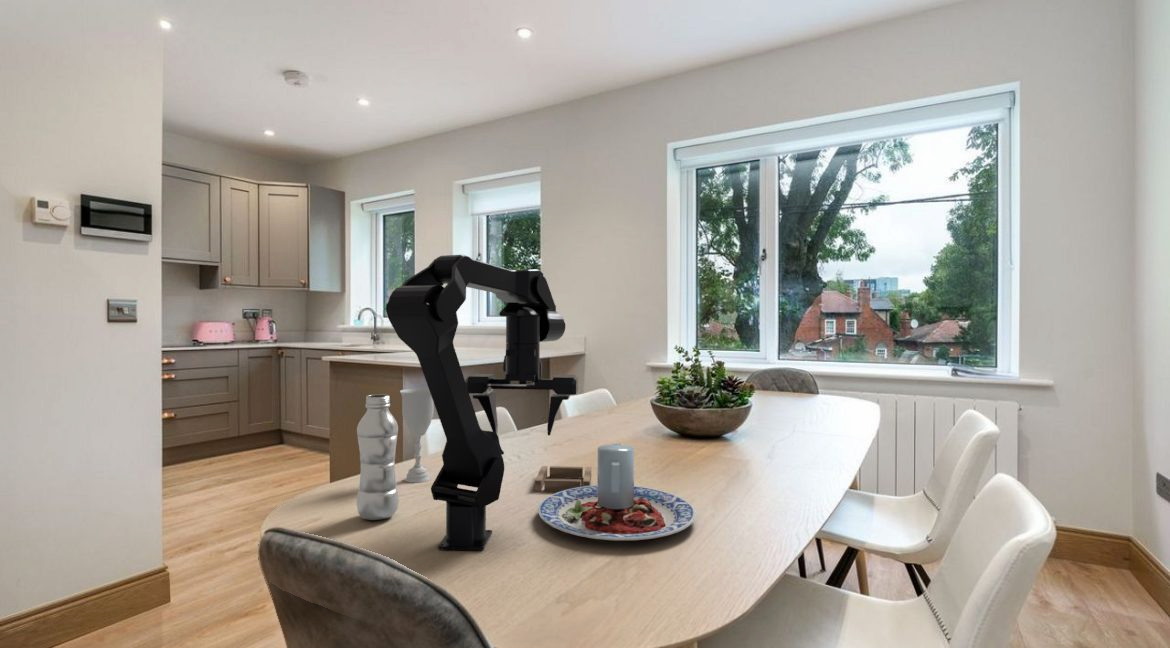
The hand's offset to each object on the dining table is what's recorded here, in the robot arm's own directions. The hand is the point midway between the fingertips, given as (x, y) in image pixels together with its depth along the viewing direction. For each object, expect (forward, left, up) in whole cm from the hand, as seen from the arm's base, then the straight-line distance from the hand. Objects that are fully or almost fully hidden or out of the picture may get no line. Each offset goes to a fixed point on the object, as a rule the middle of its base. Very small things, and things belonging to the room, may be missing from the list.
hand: (522, 434), depth 96 cm
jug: (-3, -16, -10) cm, 19 cm away
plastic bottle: (-5, +23, -13) cm, 27 cm away
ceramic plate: (-3, -16, -14) cm, 21 cm away
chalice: (+17, +24, -13) cm, 32 cm away
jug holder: (+16, -6, -13) cm, 21 cm away
